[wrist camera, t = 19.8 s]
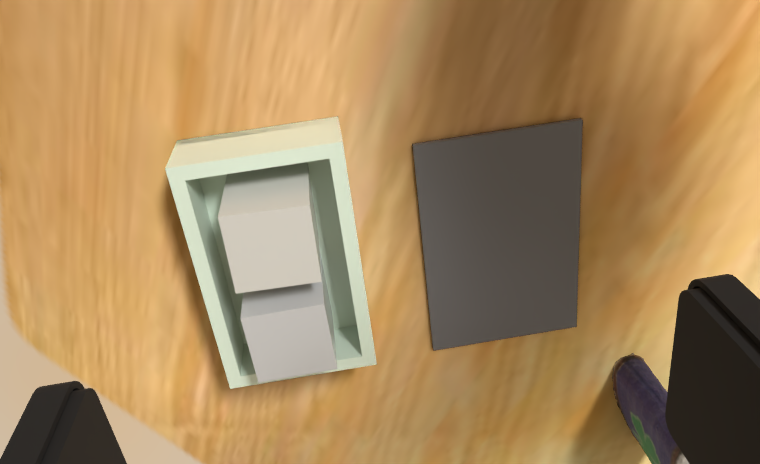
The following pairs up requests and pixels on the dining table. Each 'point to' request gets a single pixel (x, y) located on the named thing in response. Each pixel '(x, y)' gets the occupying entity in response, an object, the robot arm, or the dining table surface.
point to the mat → (500, 231)
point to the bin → (334, 221)
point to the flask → (645, 409)
